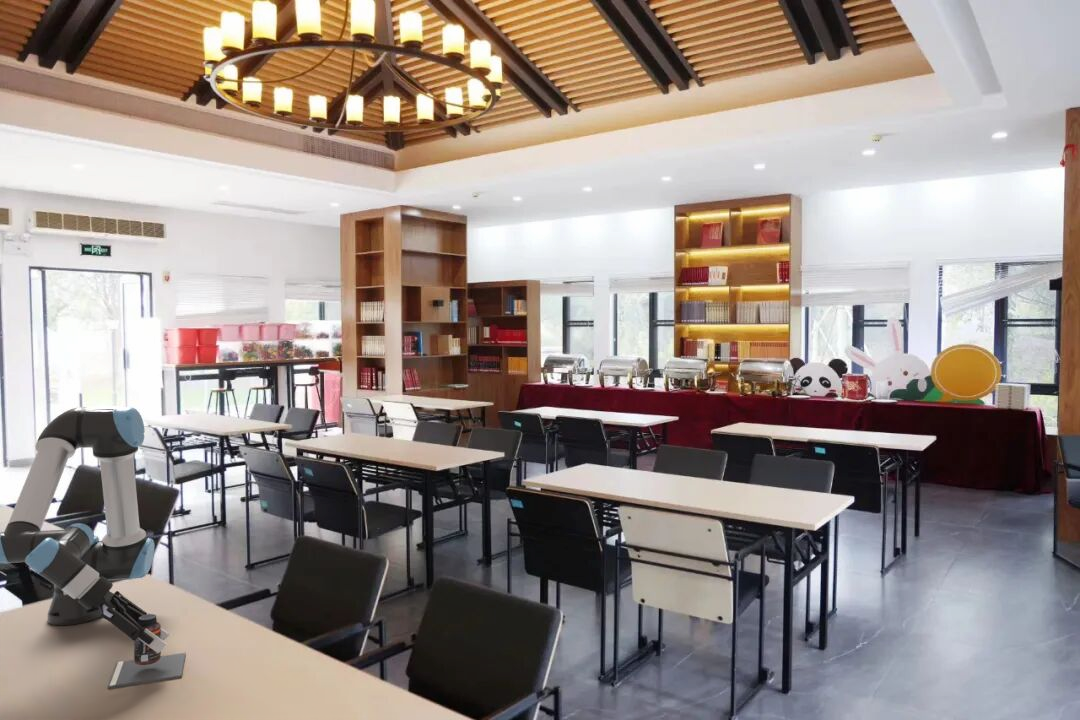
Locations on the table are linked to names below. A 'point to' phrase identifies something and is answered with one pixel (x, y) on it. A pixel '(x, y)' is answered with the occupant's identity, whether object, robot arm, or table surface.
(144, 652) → the supplement bottle
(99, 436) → the robot arm
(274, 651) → the table surface
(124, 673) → the grey flat slab
